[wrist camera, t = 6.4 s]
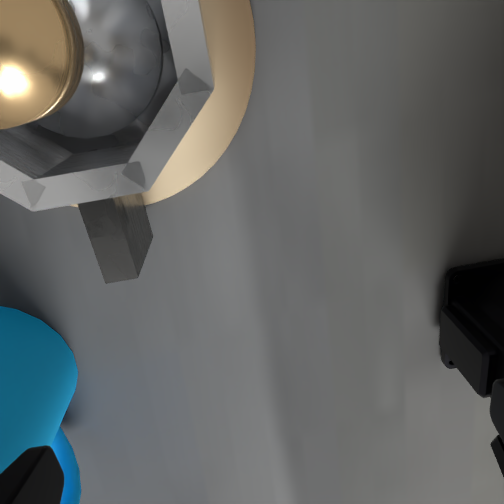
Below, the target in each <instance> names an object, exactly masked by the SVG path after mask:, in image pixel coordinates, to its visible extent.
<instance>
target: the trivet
mask: <svg viewBox="0 0 504 504" xmlns="http://www.w3.org/2000/svg"><path fill="white" fill-rule="evenodd" d="M200 3H201V8H202V14H203V19H204V25H205V30H206V36H207V41H208V47H209V52H210V58H211V63H212V69H213V74H214V80H215V87H214V90H213V92H212V94H211V95H210V97H209V98H208V100H207V101H206V103H205V104H204V106H203V108H202V109H201V111H200V112H199V114H198V115H197V117H196V119H195V120H194V122H193V123H192V125H191V126H190V128H189V129H188V131H187V133H186V134H185V136H184V137H183V139H182V140H181V142H180V143H179V145H178V147H177V148H176V150H175V151H174V153H173V154H172V156H171V157H170V159H169V161H168V162H167V164H166V165H165V167H164V168H163V170H162V171H161V173H160V175H159V176H158V178H157V179H156V181H155V182H154V184H153V185H152V187H151V189H150V190H149V191H147V192H142V193H141V195H142V199H143V202H144V205H148V204H152V203H155V202H158V201H160V200H163V199H165V198H168V197H170V196H172V195H174V194H176V193H178V192H180V191H181V190H183V189H185V188H187V187H188V186H189V185H191V184H192V183H193V182H195V181H196V180H198V179H199V178H200V177H202V176H203V175H204V174H205V173H206V172H207V171H208V170H209V169H210V168H211V167H212V166H213V165H214V164H215V163H216V161H217V160H218V159H219V158H220V156H221V155H222V154H223V153H224V151H225V150H226V149H227V147H228V146H229V144H230V142H231V140H232V139H233V137H234V135H235V134H236V132H237V130H238V128H239V125H240V123H241V121H242V118H243V116H244V114H245V111H246V108H247V104H248V101H249V97H250V94H251V89H252V83H253V77H254V71H255V49H256V45H255V32H254V21H253V16H252V10H251V5H250V0H200ZM71 206H75V207H78V204H73V205H71Z"/></svg>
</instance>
